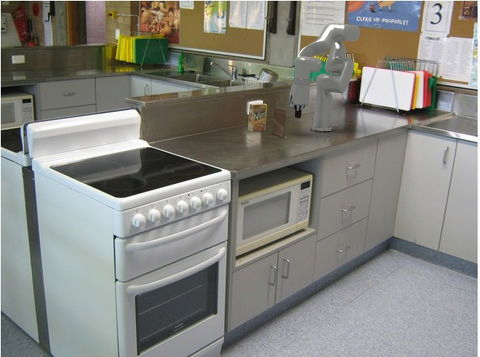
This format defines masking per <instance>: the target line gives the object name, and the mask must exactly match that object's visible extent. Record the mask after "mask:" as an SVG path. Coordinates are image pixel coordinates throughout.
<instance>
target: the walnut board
mask: <svg viewBox="0 0 480 357" xmlns="http://www.w3.org/2000/svg"><path fill="white" fill-rule="evenodd" d="M286 118H287V109H284V108H281V107H278V106H274V109H273V121H272V122H273V123H272V131H271V132H272V134H273V135H275V136H278V137H279V138H285V137H284V136H285V130H286V120H287V119H286Z"/></svg>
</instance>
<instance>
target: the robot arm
mask: <svg viewBox="0 0 480 357" xmlns="http://www.w3.org/2000/svg"><path fill="white" fill-rule="evenodd" d="M360 36H361V29H360V28H359V26H358V25H355V24H354V25H353V24H347V23H338V22H337V23H336V22H331V23H328V24H326V25H325V26H324V27H323V29H322V30H321V33H320V34H319V36H318V37H317V38H316V40H315V41H313V42H311V43H309V44H308V45H306V46H305V47H303V48H302V49H301V50H300V51H299V53H298V54H297V55H296V58H295V59H294V68H295V69H294V78H293V84H292V85H291V86H290V92H289V96H288V103H289V107H292V108H293V110H294V118H295V119H301V118H302V112H303V110H304V109H305V108H306V107H307V108H308V107H309V103H310V99H311V98H310V97H311V95H310V94H311V89H310V83H311V80H310V76H311V75H310V73H318V72H320V71H321V69H322V67H323V62H322V60H321V59H320V58H318V57H314V56H317V55H321V54H325V53H327V52H329V51H330V52H329V55H328V56H327V59H326V62H325V65H324V70H325V72H326V73H321V74H319V75H318V76H317V77H316V81H315V86H316V95H315V97H316V98H315V104H314V105H315V106H314V107H315V108H314V114H313V123H312V124H313V125H312V126H313V127H315V128H323V129H324V128H330V127H332V126H337V127H338V123H332V115H333V106H334V97H333V95H332V93H335V94H343V93H345V92H346V91H347V89H348V87H349V83H350V82H351V78H352V75H353V73H354V69H355V62H354V60H353V59H351V58H349V57H345V56H346V54H347V49H346V48H347V47H346V46H345V44H344V41H345V42H356V41H358V40H359V39H360ZM332 128H333V127H332Z"/></svg>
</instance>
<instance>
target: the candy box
mask: <svg viewBox="0 0 480 357" xmlns="http://www.w3.org/2000/svg"><path fill="white" fill-rule="evenodd" d="M248 107H249V110H248V124H247V125H248V126H247V131H250V132H253V133H254V132H266V130H267V129H266V128H267V127H266V126H267V114H268V104H266V103H249V106H248Z"/></svg>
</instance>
